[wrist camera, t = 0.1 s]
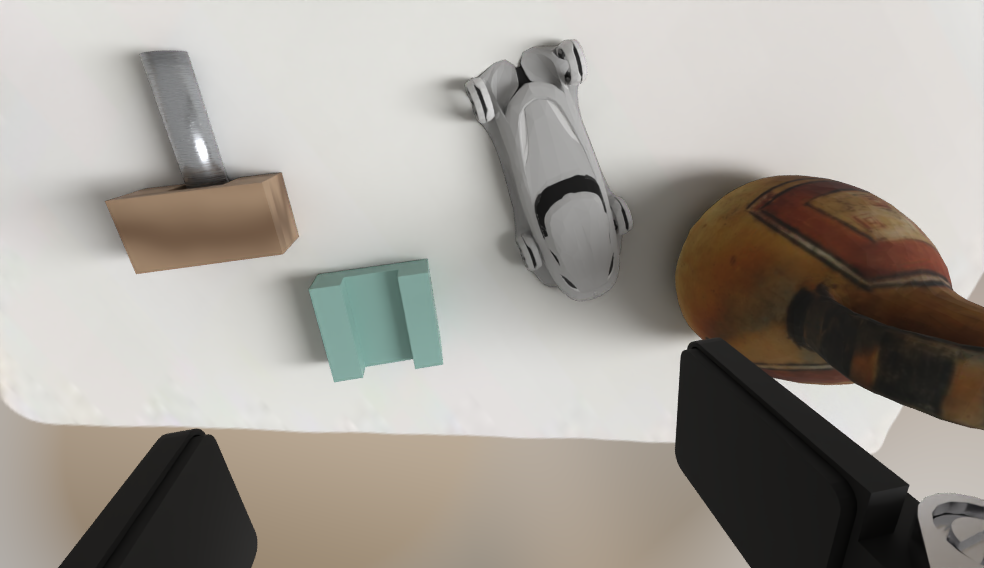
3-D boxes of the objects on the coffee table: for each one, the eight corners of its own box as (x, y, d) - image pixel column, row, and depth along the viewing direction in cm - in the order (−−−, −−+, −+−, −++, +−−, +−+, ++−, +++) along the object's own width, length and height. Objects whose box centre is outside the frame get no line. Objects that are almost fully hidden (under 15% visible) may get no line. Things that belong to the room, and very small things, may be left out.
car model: (570, 30, 40) (589, 21, 36) (632, 266, 50) (654, 283, 45) (454, 77, 41) (459, 74, 36) (539, 305, 50) (551, 325, 46)
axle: (153, 57, 37) (129, 53, 34) (195, 53, 37) (175, 49, 34) (211, 225, 42) (195, 235, 39) (247, 221, 42) (234, 230, 39)
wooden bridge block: (145, 188, 40) (105, 201, 35) (281, 172, 41) (262, 182, 36) (170, 253, 42) (136, 274, 37) (298, 236, 43) (282, 254, 38)
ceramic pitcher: (799, 329, 56) (1163, 548, 29) (645, 339, 53) (884, 592, 26) (846, 167, 49) (1394, 250, 21) (671, 169, 46) (1041, 267, 19)
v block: (317, 274, 45) (308, 289, 41) (427, 258, 46) (427, 272, 42) (340, 361, 49) (334, 382, 45) (441, 345, 50) (443, 364, 46)
